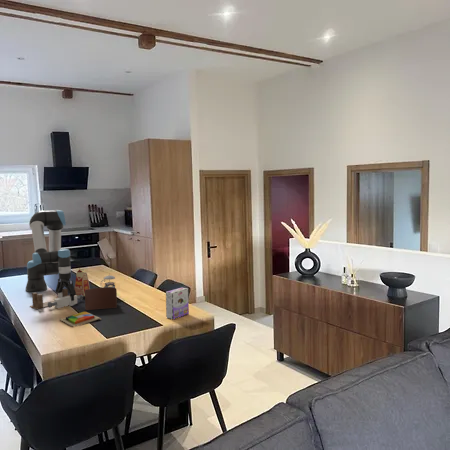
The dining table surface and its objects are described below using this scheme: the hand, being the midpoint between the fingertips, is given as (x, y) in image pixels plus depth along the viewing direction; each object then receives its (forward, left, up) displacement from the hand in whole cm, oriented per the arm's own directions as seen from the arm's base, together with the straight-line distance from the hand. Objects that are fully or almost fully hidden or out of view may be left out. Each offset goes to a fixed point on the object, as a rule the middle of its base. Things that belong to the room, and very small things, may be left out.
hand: (66, 304), depth 285 cm
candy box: (+77, +27, -1) cm, 82 cm away
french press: (+4, +31, -1) cm, 31 cm away
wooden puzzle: (+36, -13, -2) cm, 38 cm away
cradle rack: (-11, -5, -1) cm, 12 cm away
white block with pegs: (0, 0, -1) cm, 1 cm away
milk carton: (-17, +23, -1) cm, 29 cm away
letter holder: (+22, +12, -1) cm, 25 cm away
